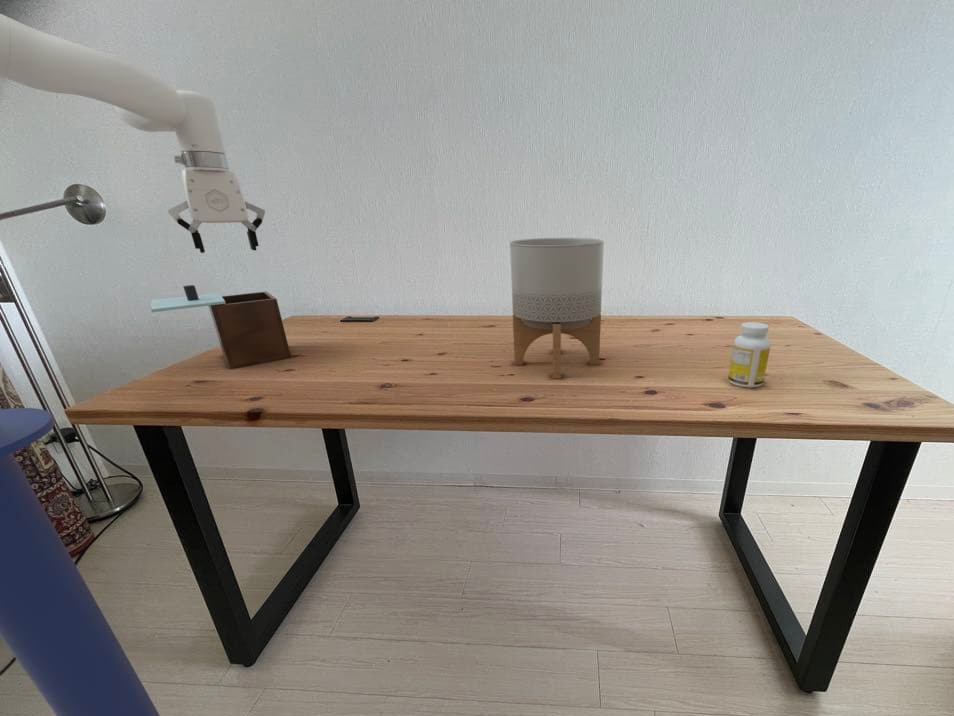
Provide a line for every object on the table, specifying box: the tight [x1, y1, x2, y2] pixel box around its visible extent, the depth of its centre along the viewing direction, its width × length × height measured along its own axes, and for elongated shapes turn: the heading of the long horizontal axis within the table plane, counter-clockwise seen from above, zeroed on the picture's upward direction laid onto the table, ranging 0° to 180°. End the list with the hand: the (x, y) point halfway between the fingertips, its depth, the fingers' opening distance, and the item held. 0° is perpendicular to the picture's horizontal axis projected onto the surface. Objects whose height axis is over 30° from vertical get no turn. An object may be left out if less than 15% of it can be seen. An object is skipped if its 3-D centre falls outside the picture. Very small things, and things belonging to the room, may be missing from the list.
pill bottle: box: [727, 321, 772, 389], centre depth 88 cm, size 6×6×12 cm
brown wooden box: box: [207, 290, 292, 370], centre depth 107 cm, size 13×13×14 cm
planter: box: [509, 237, 605, 379], centre depth 97 cm, size 19×19×26 cm
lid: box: [150, 284, 226, 313], centre depth 98 cm, size 13×13×4 cm
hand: (228, 251), depth 100 cm, fingers open, 9 cm apart
